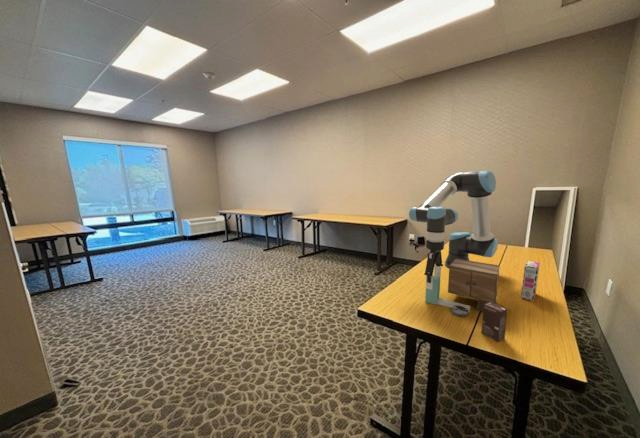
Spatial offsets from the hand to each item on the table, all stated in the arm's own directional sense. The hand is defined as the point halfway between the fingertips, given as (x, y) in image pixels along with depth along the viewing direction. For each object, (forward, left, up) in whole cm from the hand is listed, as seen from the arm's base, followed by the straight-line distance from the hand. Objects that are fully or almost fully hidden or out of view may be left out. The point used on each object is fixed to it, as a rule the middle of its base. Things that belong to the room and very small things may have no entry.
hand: (433, 283), depth 116 cm
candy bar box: (-34, +36, -9) cm, 50 cm away
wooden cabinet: (-10, +15, -9) cm, 20 cm away
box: (+15, +25, -9) cm, 31 cm away
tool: (0, +6, -9) cm, 11 cm away
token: (+5, +12, -9) cm, 16 cm away
